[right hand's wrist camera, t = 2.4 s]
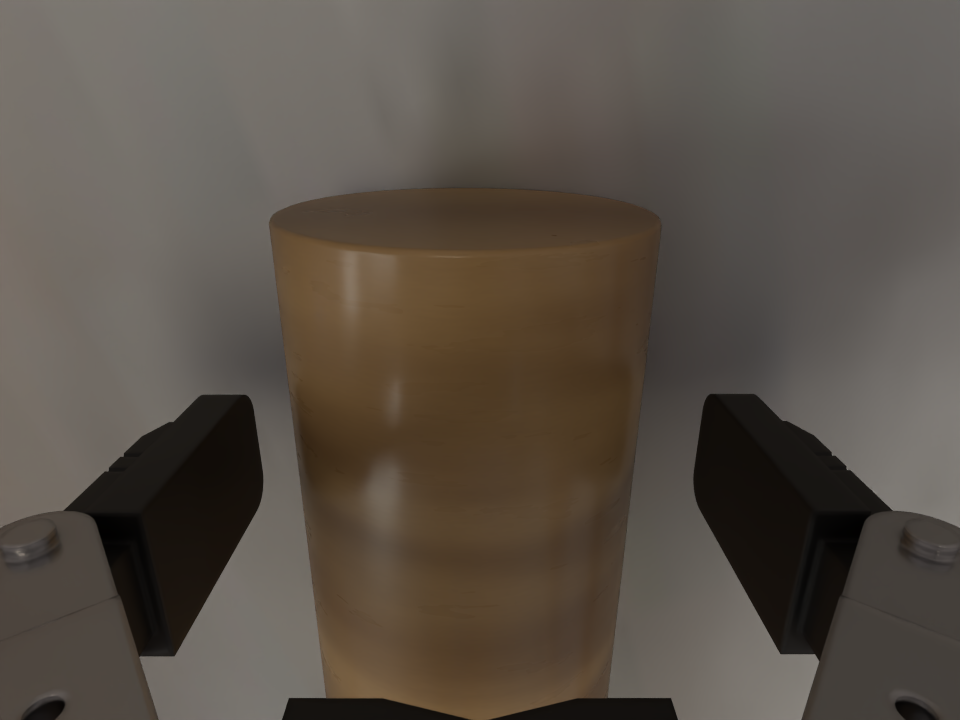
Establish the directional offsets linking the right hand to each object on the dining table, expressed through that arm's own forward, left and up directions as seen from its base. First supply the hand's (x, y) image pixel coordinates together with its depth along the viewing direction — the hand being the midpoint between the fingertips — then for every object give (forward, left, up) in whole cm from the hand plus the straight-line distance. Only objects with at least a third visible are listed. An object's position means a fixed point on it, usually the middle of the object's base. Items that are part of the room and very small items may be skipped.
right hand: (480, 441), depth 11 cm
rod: (+6, +6, -4) cm, 9 cm away
